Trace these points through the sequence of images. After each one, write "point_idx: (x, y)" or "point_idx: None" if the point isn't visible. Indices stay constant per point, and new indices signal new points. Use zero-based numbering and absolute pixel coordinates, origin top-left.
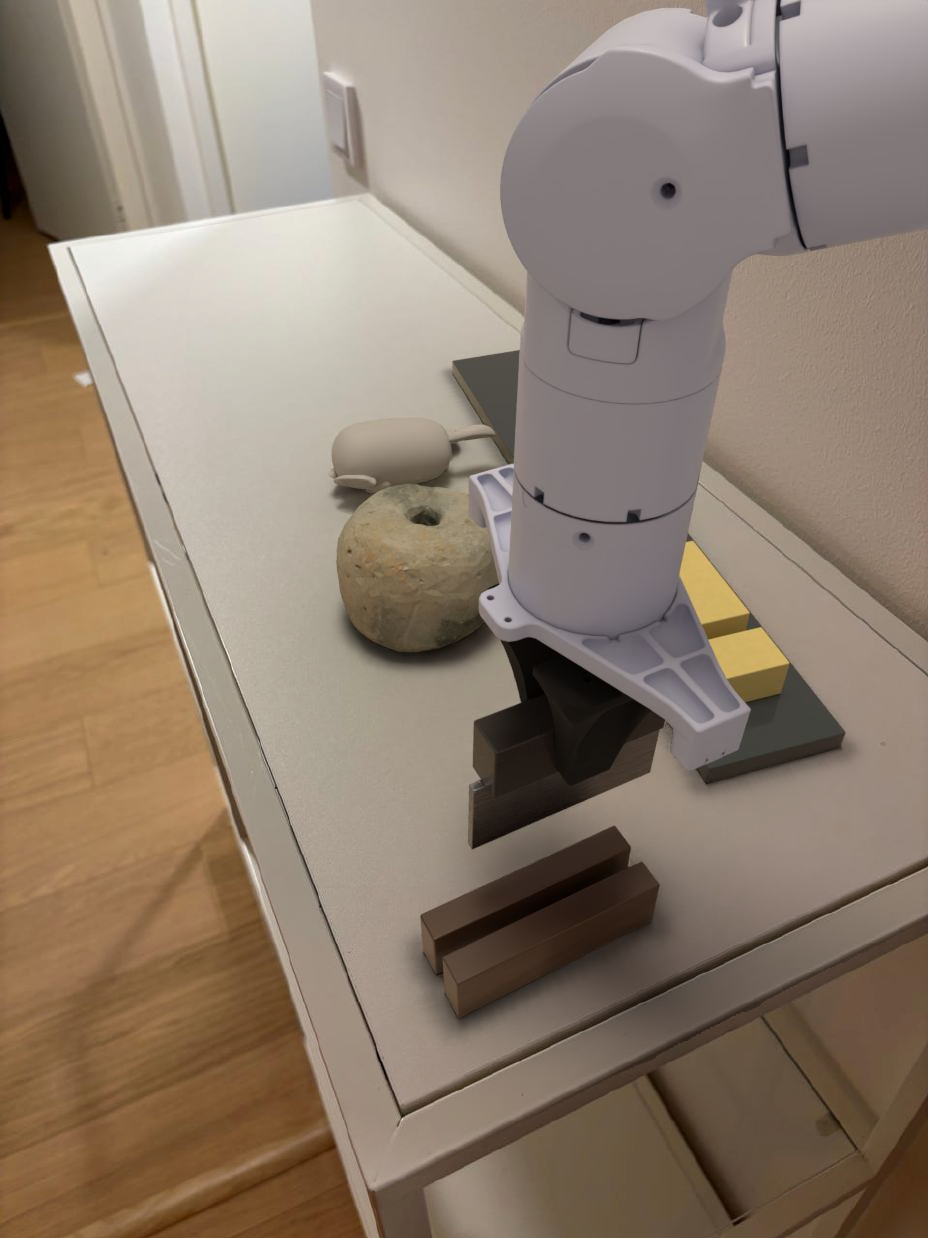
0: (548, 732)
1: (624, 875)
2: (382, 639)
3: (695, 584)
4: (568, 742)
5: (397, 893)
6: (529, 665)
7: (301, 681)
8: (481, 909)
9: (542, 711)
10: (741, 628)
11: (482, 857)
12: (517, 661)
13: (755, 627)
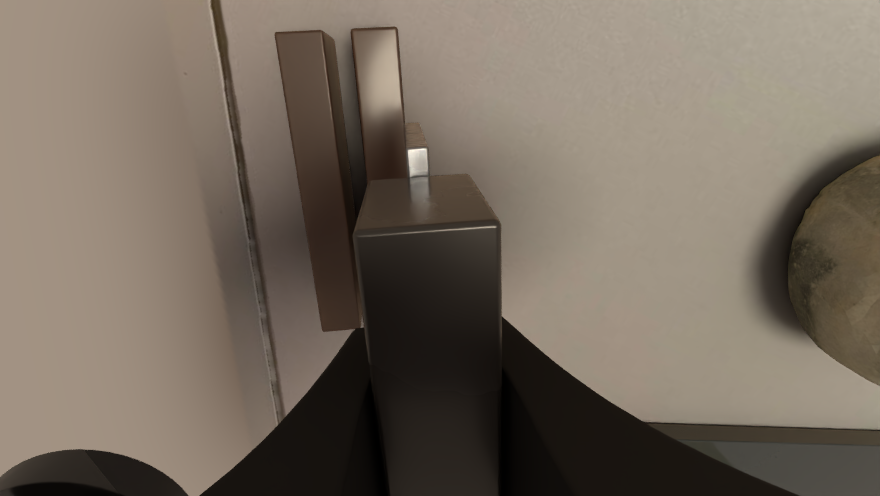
0: (373, 387)
1: (349, 302)
2: (858, 173)
3: None
4: (272, 436)
5: (484, 37)
6: (552, 487)
7: (866, 39)
8: (371, 114)
9: (445, 401)
10: None
11: (483, 160)
12: (576, 478)
13: None
